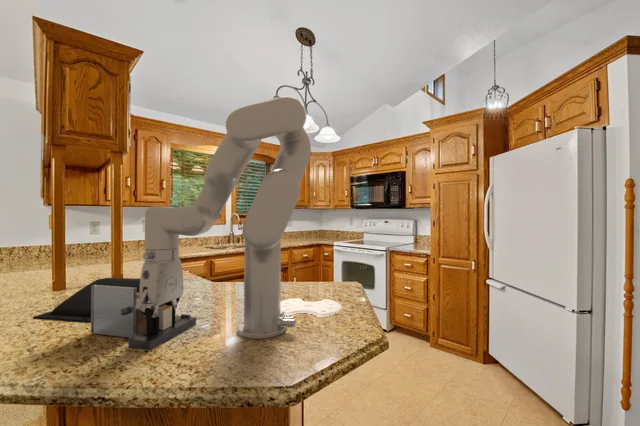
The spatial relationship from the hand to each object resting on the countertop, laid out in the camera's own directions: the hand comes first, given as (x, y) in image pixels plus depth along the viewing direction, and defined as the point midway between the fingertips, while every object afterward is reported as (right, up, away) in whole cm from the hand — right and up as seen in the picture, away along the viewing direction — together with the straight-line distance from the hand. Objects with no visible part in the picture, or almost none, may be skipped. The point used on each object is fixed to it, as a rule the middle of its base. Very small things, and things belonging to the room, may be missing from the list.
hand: (161, 327), depth 74 cm
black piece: (-31, -3, +26) cm, 40 cm away
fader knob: (0, 0, +1) cm, 1 cm away
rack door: (-12, -2, 0) cm, 12 cm away
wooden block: (-11, -2, +6) cm, 13 cm away
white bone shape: (+36, -3, +24) cm, 43 cm away
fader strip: (0, -2, +1) cm, 3 cm away
